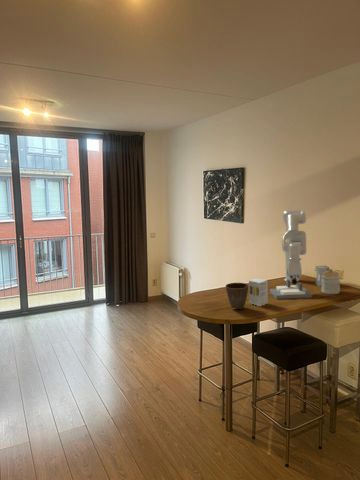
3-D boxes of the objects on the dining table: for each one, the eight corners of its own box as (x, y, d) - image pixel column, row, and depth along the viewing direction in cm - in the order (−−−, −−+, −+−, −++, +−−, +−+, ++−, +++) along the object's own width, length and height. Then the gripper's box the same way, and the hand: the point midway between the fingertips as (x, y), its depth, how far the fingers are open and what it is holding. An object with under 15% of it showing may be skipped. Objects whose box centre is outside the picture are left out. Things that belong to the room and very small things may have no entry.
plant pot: (233, 313, 230) (233, 289, 228) (222, 307, 244) (221, 284, 242) (253, 309, 236) (252, 286, 234) (240, 303, 250) (240, 281, 247)
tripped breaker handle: (286, 285, 272) (286, 279, 272) (288, 285, 272) (288, 279, 272) (287, 287, 268) (287, 280, 268) (290, 287, 268) (290, 280, 268)
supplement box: (248, 304, 249) (248, 280, 246) (256, 300, 255) (256, 277, 252) (260, 306, 241) (259, 282, 239) (268, 303, 247) (268, 280, 245)
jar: (323, 288, 277) (323, 266, 275) (341, 290, 270) (342, 268, 268) (319, 293, 267) (319, 269, 265) (337, 295, 259) (338, 271, 257)
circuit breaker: (336, 285, 284) (337, 267, 282) (318, 286, 285) (318, 267, 283) (333, 283, 292) (333, 265, 290) (315, 283, 292) (315, 265, 290)
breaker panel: (269, 292, 275) (269, 286, 274) (303, 290, 275) (303, 284, 275) (276, 298, 257) (276, 292, 256) (312, 297, 257) (312, 290, 257)
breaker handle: (297, 289, 263) (297, 282, 262) (300, 289, 263) (300, 282, 262) (299, 290, 259) (299, 283, 258) (302, 290, 259) (302, 283, 258)
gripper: (302, 258, 272) (302, 282, 274) (282, 259, 271) (282, 283, 274) (305, 260, 264) (305, 284, 267) (285, 261, 264) (285, 285, 266)
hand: (294, 284), depth 270 cm, fingers closed
